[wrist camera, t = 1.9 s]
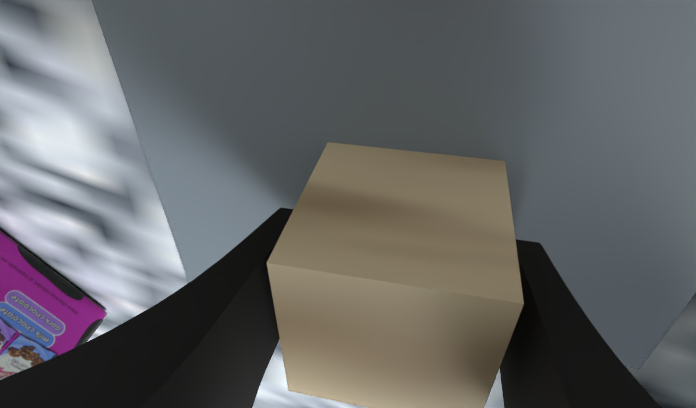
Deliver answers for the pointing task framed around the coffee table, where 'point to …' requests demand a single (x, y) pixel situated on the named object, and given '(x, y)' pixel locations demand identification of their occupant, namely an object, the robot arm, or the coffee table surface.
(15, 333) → the candy bar box
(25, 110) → the coffee table surface
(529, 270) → the robot arm
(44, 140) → the coffee table surface
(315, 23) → the grey flat plate
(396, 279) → the maple block
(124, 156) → the coffee table surface
